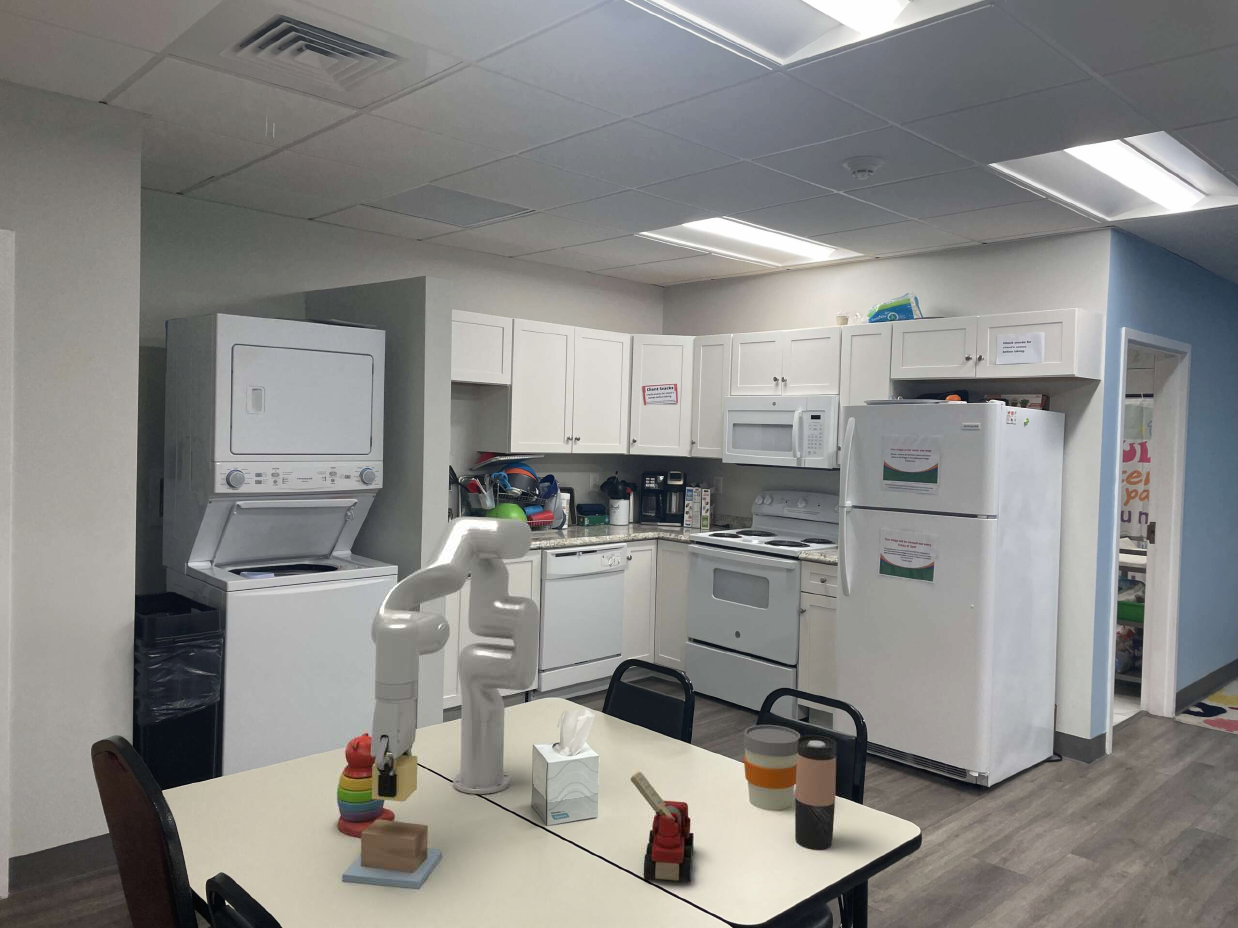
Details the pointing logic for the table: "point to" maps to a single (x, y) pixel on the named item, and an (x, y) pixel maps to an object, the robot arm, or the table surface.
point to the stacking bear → (359, 790)
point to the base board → (392, 873)
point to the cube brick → (399, 778)
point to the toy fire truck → (666, 836)
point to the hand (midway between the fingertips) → (394, 788)
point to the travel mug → (815, 791)
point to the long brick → (394, 846)
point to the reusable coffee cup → (770, 765)
